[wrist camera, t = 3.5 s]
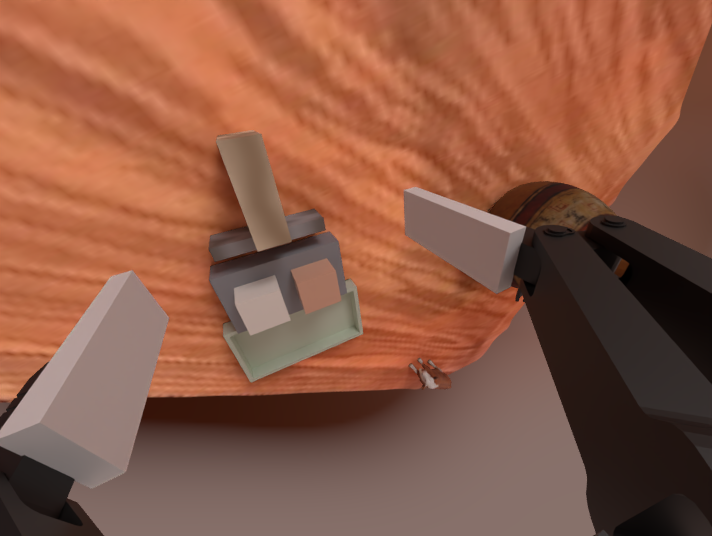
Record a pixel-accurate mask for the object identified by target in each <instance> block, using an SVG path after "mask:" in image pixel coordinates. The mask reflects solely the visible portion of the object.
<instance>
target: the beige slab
mask: <svg viewBox="0 0 712 536" xmlns="http://www.w3.org/2000/svg"><path fill="white" fill-rule="evenodd" d="M216 143H217V146H218V148H219V151H220V154H221V156H222V159H223V161H224V164H225V167H226V169H227V172H228V175H229V177H230V180H231V183H232V185H233V188H234V191H235V193H236V196H237V198H238V201H239V204H240V206H241V209H242V212H243V214H244V217H245V220H246V222H247V225H248V226H246V227H242V228H238V229H234V230H230V231H226V232H223V233H219V234H215V235H211V236H210V242H209V251H210V253H211V255H212V257H213V259H214V261H215V262H216V261H220V260H223V259H227V258H230V257H234V256H237V255H241V254H244V253H247V252H251V251H254V250H257V251H258V252H259V251H262V250H265V249H269V248H272V247H276V246H279V245H283V244H286V243H290V242H292V240H293V239H296V238H300V237H303V236H307V235H310V234H314V233H317V232H321V231H324V230H326V229H325V224H324V219H323V217H322V216H321V215H320V214H319V213H318V212H317V211H316V210H315V209H311V210H308V211H304V212H300V213H296V214H292V215H288V216H285V215H284V212H283V208H282V205H281V201H280V198H279V194H278V191H277V187H276V184H275V180H274V177H273V173H272V170H271V166H270V163H269V159H268V156H267V152H266V149H265V145H264V142H263V138H262V135H261V134H260V133H258V132H256V131H253V130H251V131H244V132H238V133H231V134H225V135H218V137H217V139H216Z"/></svg>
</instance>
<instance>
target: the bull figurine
mask: <svg viewBox="0 0 712 536" xmlns="http://www.w3.org/2000/svg"><path fill="white" fill-rule="evenodd" d="M418 362H420V363H421V364H422V366H423V368H424V369H421V368H420V369H419V371H418V370H417V369H416V368H415V367H414V366H413V364H410V365H409V367H411V368H412V369H413V370H414V371H415V373H417V375H418V377H419V378H420V381H421V383H422V384H423V385H422V390H424V389H425V388H426V387H427V388H430V389H434V388H435V389H448V388H451V380H450V378H449V377H448V376H447V375H446V374H445V373H444V372H442V370H441V369H440V368H438V367H437V366H435V365H434V364H433V362H432V361H431V360H429V361H428V363H429V364H430V365H432V366H433V367H434V368H435V369H429V367H427V366H426V365H425V364H424V363H423V361H422V360H421V358H418Z"/></svg>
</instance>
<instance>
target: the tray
mask: <svg viewBox="0 0 712 536" xmlns="http://www.w3.org/2000/svg"><path fill="white" fill-rule="evenodd" d="M345 283H346V289H347V293H346V294H344V295H341V301H340V302H337V303H335V304H332V305H330V306H327V307H324V308H322V309H319V310H316V311H314V312H311V313H309V314H306V313H305V311H304V310H301V311H298V312H296V313H293V314H290V315H289V316H290V319H291V320H290V321H288V322H285V323H282V324H280V325H277V326H274V327H272V328H269V329H267V330H264V331H261V332H259V333H256V334H253V335H251V336H250V334H249V332H248V330H247V331H245V332H242V333H239V334H238V333H237V331H236V329H235V327H234V325H233V324H232V322H231V321H230V322H227V323H224V324H223V337H224V338H225V340H226V342H227V343H228V345H229V347H230V348H231V350H232V352H233V353H234V355H235V357H236V358H237V360H238V362H239V364H240V365H241V367H242V369H243V370H244V372H245V374H246V375H247V377H248V379H249V380H250V382H253V381H256V380H258V379H260V378H263V377H265V376H267V375H269V374H272V373H274V372H276V371H279V370H281V369H283V368H286V367H288V366H290V365H293V364H295V363H297V362H299V361H302V360H304V359H306V358H309V357H311V356H313V355H316V354H318V353H320V352H323V351H325V350H327V349H330V348H332V347H334V346H336V345H339V344H341V343H343V342H346V341H348V340H350V339H353V338H355V337H357V336H360V335H362V334H363V329H362V322H361V315H360V308H359V301H358V294H357V286H356V285H355V284H354V283H353V281H352V280H351V279H348V280H345Z"/></svg>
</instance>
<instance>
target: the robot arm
mask: <svg viewBox="0 0 712 536" xmlns="http://www.w3.org/2000/svg"><path fill="white" fill-rule="evenodd" d="M404 214H405V235H406V236H408V237H409V238H411V239H412V240H414V241H416V242H417V243H419V244H420V245H422V246H423V247H425V248H426V249H428V250H429V251H431V252H433V253H434V254H436V255H437V256H439V257H440V258H442V259H443V260H445V261H446V262H448V263H450V264H451V265H453V266H454V267H456V268H457V269H459V270H460V271H462V272H464V273H465V274H467V275H468V276H470V277H471V278H473V279H474V280H476V281H477V282H479V283H481V284H482V285H484V286H485V287H487V288H488V289H490V290H491V291H493V292H494V293H496V294H497V293H499V292H502V291H504V290H506V289H508V288H510V287H511V283H512V280H513V276H514V275H515V276H517V277H519V278H521V280H520V284H519V287H518V291H517V294H516V301H519V298H520V297H521V296H522V295H523V298H524V299H523V302H525V303H526V306H527V309H528V312H529V314H530V317H531V320H532V323H533V325H534V328H535V330H536V333H537V336H538V339H539V342H540V345H541V347H542V350H543V353H544V355H545V358H546V361H547V364H548V367H549V369H550V372H551V375H552V377H553V380H554V383H555V386H556V388H557V391H558V394H559V397H560V399H561V402H562V405H563V408H564V411H565V413H566V416H567V419H568V422H569V424H570V427H571V430H572V432H573V435H574V438H575V441H576V443H577V446H578V449H579V452H580V454H581V457H582V460H583V463H584V465H585V469H586V474H587V490H586V495H587V503H588V509H589V512H590V516H591V520H592V523H593V526H594V528H595V531H596V535H594V536H712V259H711V258H709V257H707V256H705V255H703V254H701V253H699V252H697V251H695V250H692V249H690V248H688V247H686V246H684V245H682V244H680V243H678V242H676V241H674V240H672V239H669V238H667V237H665V236H663V235H661V234H659V233H657V232H655V231H652V230H651V229H648V228H646V227H644V226H642V225H640V224H638V223H636V222H634V221H631V220H628V219H625V218H622V217H619V216H612V215H606V216H598V217H593V218H592V219H590V221H589V224H588V226H587V229H586V230H584V231H577V232H576V231H575V230H573V229H572V228H568V227H565V226H560V225H543V226H539V227H537V228H536V229H532V228H529V227H526V226H523V225H521V224H518V223H515V222H512V221H510V220H506V219H504V218H501V217H498V216H496V215H493V214H490V213H487V212H484V211H481V210H478V209H476V208H473V207H470V206H467V205H464V204H462V203H459V202H456V201H453V200H451V199H448V198H445V197H442V196H439V195H437V194H434V193H431V192H428V191H425V190H423V189H420V188H417V187H413V188H410V189H406V190H404ZM621 259H623V260H625V261H627V262H628V263H629V265H628V267H627V269H626V271H625V272H624V274H623V275H622V277H619V276H617V275H616V274H614V272H615V271H616V269H617V267H618V265H619V263H620V261H621ZM168 320H169V317H168V316H167V314H166V313H165V312H164V310H163V309H162V308H161V307H160V305H159V304H158V303H157V301H156V300H155V299H154V297H153V296H152V295H151V294H150V292H149V291H148V290H147V288H146V287H145V286H144V285H143V283H142V282H141V281H140V279H139V278H138V277H137V275H136V274H135V273H134V272H133V270H132V271H128V272H125V273H121V274H118V275H115V276H111V277H110V278H109V280H108V281H107V283H106V284H105V285H104V287H103V288H102V290H101V291H100V292H99V294H98V295H97V296H96V298H95V299H94V301H93V302H92V303H91V305H90V306H89V308H88V309H87V310H86V312H85V313H84V315H83V316H82V317H81V319H80V320H79V321H78V323H77V324H76V326H75V327H74V328H73V330H72V331H71V333H70V334H69V335H68V337H67V338H66V339H65V341H64V342H63V344H62V345H61V346H60V348H59V349H58V351H57V352H56V353H55V355H54V356H53V357H52V359H51V360H50V362H47V363H46V364H45V365H44V366H43V367H42V368H41V369H40V370H39V371H37V372H36V373H35V374H34V375H33V376H32V377H31V378H30V379H29V380H28V381H27V382H26V384H25V385H24V386H23V388H22V389H21V390H20V392H19V393H18V394H17V398H15V399H14V400H13V401H12V402H11V404H10V405H9V406H8V408H7V409H6V410H7V412H5V413H3V414H2V416H1V417H0V536H104V535H103V534H102V533H101V531H100V530H99V529H98V528H97V527H96V525H95V524H94V523H93V521H92V520H91V519H90V518H89V516H88V515H87V514H86V513H85V511H84V510H83V509H82V508H81V506H80V505H79V504H78V503H77V502H75V501H72V500H70V499H68V498H67V497H68V494H69V492H70V489H71V487H72V485H73V483H74V481H77V482H79V483H81V484H83V485H85V486H87V487H89V488H94V487H96V486H98V485H100V484H102V483H104V482H107V481H109V480H111V479H113V478H115V477H117V476H119V475H121V474H123V473H125V472H126V470H127V466H128V463H129V459H130V456H131V452H132V449H133V445H134V441H135V438H136V434H137V431H138V427H139V424H140V420H141V416H142V413H143V409H144V406H145V402H146V399H147V395H148V392H149V388H150V384H151V381H152V377H153V374H154V370H155V367H156V363H157V359H158V356H159V352H160V349H161V345H162V342H163V338H164V334H165V331H166V327H167V324H168Z"/></svg>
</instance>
